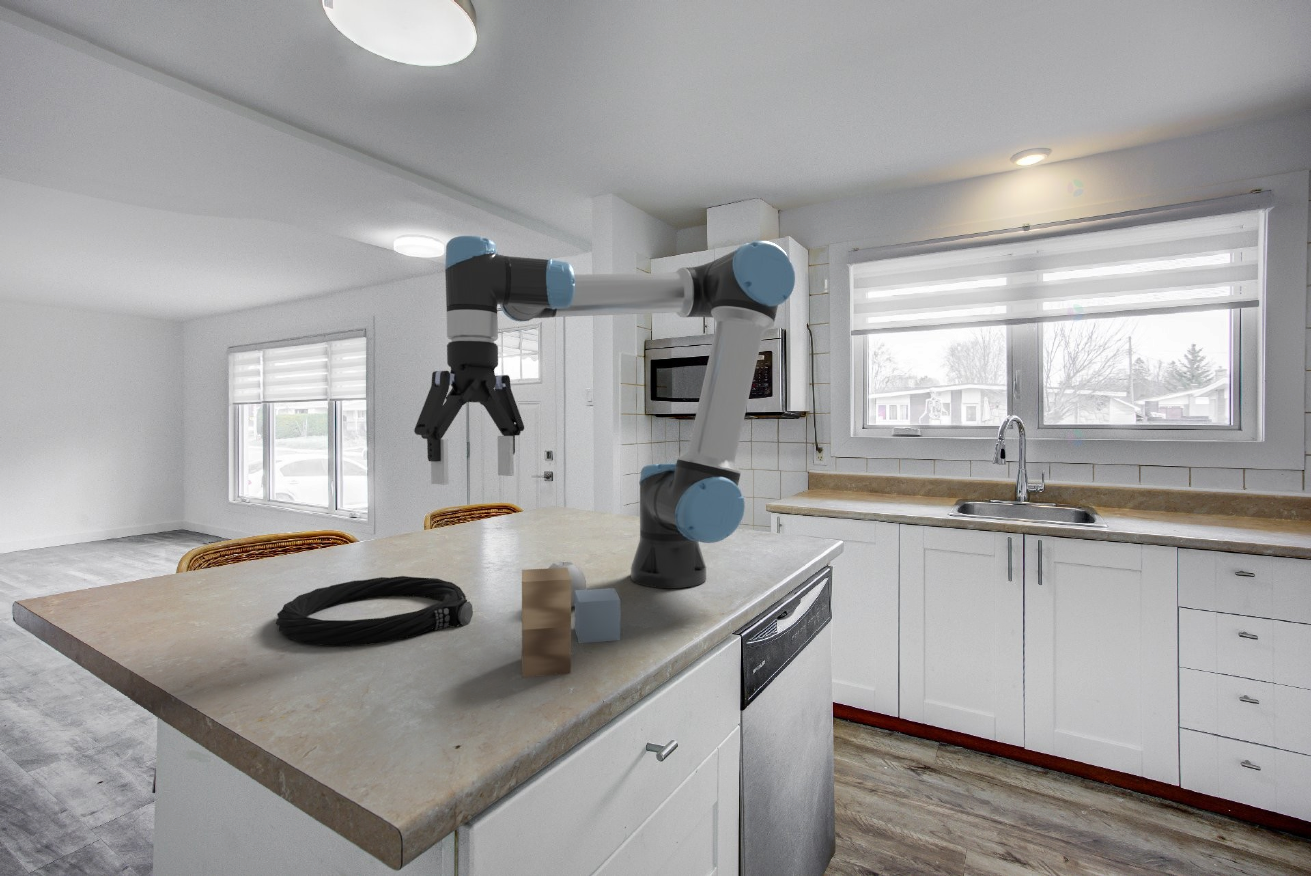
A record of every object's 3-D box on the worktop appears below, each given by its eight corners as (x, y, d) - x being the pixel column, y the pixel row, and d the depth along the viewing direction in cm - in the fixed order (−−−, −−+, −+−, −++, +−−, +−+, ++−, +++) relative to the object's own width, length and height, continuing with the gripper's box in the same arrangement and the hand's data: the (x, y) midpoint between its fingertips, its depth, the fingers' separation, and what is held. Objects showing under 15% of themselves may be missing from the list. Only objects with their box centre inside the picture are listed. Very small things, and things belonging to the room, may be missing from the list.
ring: (359, 569, 114) (507, 579, 108) (359, 589, 114) (507, 600, 108) (228, 616, 87) (416, 632, 81) (228, 643, 87) (417, 660, 81)
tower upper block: (567, 611, 83) (567, 567, 82) (570, 626, 77) (571, 579, 76) (521, 614, 81) (521, 569, 81) (522, 629, 75) (522, 581, 75)
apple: (594, 605, 104) (595, 559, 104) (564, 617, 98) (564, 568, 98) (562, 597, 109) (562, 553, 108) (530, 608, 102) (530, 561, 102)
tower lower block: (566, 654, 83) (567, 611, 83) (570, 673, 77) (570, 626, 77) (521, 658, 81) (521, 614, 81) (522, 677, 76) (522, 629, 75)
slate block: (613, 626, 94) (613, 588, 94) (620, 640, 88) (620, 599, 88) (574, 629, 93) (575, 590, 93) (578, 643, 87) (578, 602, 87)
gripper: (510, 350, 106) (512, 471, 107) (385, 334, 84) (389, 486, 85) (544, 347, 102) (545, 473, 103) (422, 330, 81) (425, 489, 82)
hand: (474, 479), depth 94 cm, fingers open, 13 cm apart
